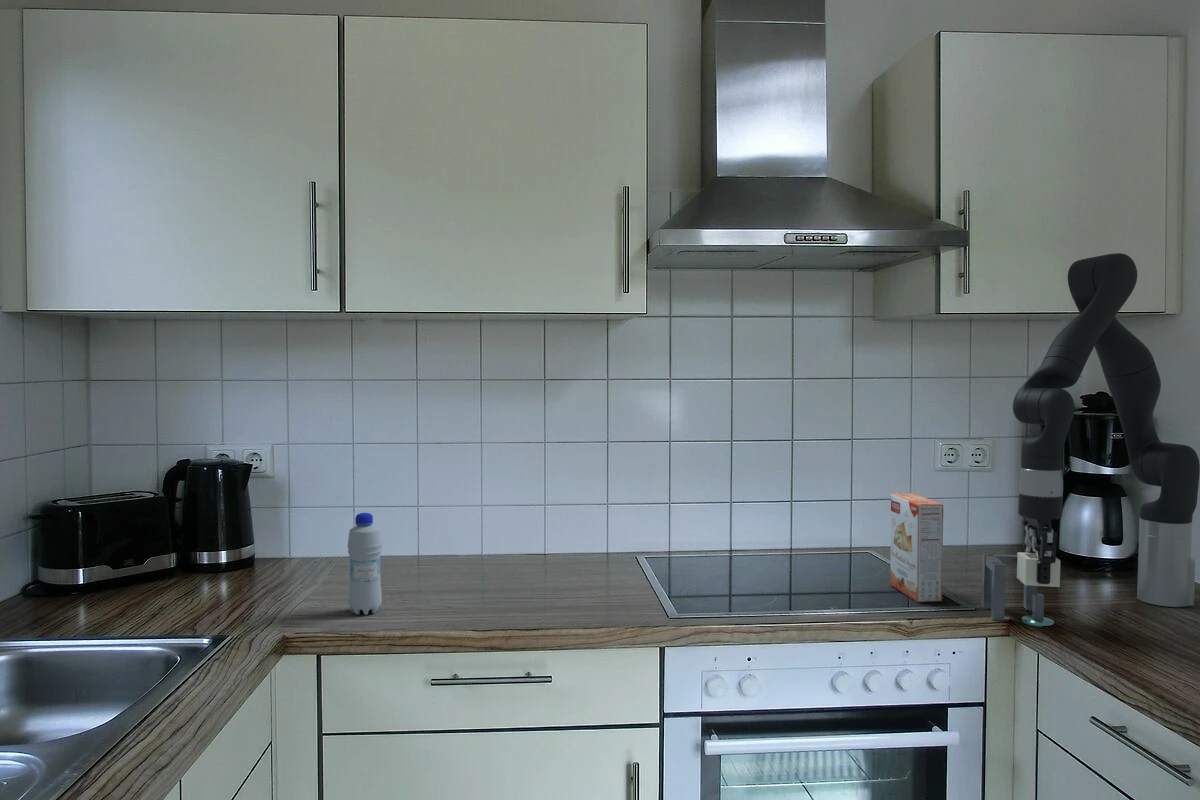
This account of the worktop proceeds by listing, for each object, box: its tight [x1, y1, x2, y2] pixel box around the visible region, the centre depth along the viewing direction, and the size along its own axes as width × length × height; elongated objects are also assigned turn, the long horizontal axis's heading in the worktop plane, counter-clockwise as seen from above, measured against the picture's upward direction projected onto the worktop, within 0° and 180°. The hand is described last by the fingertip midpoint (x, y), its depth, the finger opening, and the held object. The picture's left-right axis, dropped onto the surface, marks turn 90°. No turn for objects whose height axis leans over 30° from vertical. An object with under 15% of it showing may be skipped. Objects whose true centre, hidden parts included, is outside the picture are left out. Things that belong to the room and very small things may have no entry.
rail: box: [980, 553, 1038, 622], centre depth 173 cm, size 10×10×11 cm
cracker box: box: [889, 493, 944, 604], centre depth 188 cm, size 14×6×21 cm, turn 4°
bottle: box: [347, 512, 383, 616], centre depth 174 cm, size 7×7×20 cm
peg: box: [1021, 592, 1055, 628], centre depth 168 cm, size 6×6×6 cm
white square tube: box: [1016, 551, 1061, 588], centre depth 168 cm, size 6×6×5 cm
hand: (1038, 578), depth 168 cm, fingers closed on white square tube, 6 cm apart
